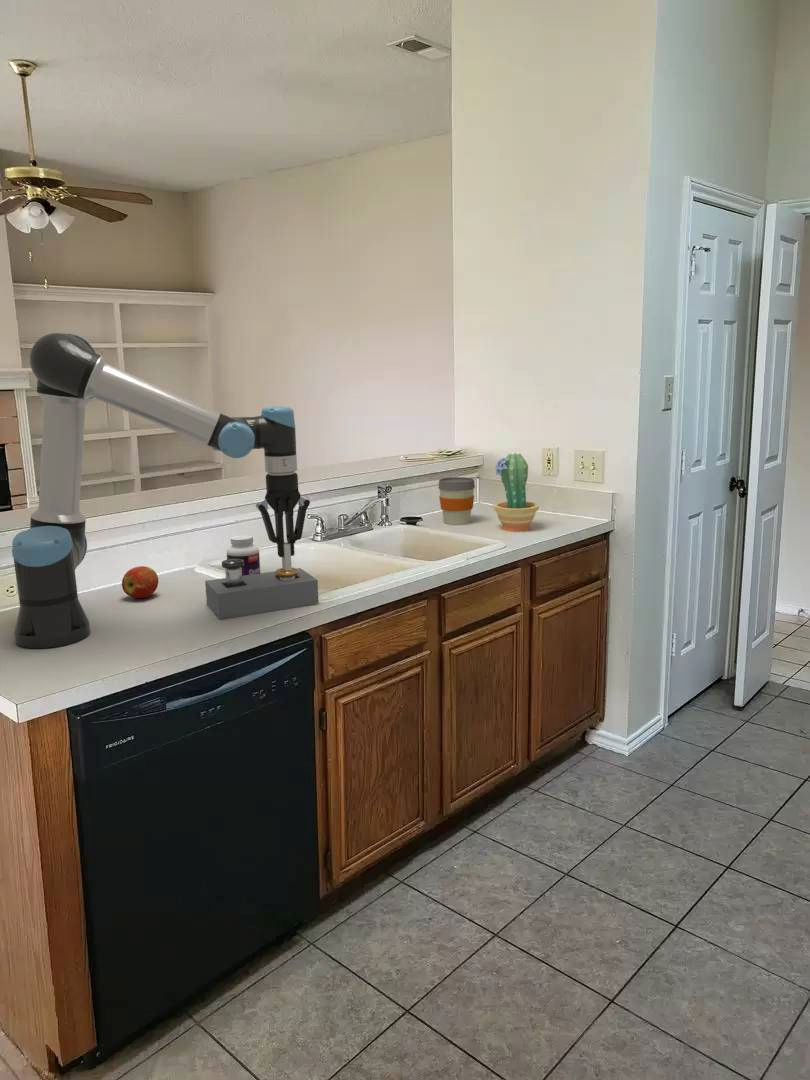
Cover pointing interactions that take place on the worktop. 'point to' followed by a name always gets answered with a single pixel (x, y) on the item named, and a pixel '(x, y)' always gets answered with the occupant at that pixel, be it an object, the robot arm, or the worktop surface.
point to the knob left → (233, 572)
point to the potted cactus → (514, 494)
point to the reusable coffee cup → (456, 499)
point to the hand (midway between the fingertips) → (287, 569)
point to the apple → (140, 582)
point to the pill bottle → (245, 553)
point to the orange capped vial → (286, 574)
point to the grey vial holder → (261, 594)
